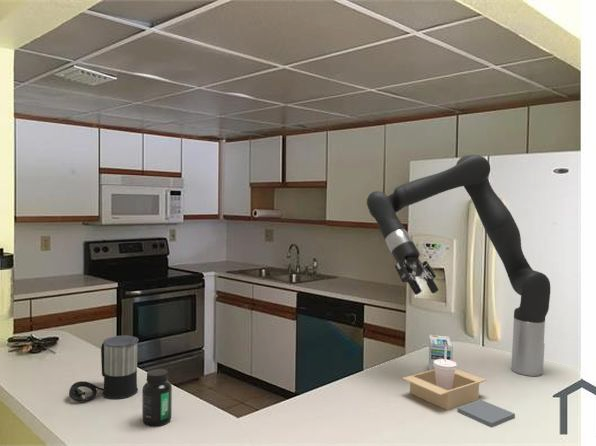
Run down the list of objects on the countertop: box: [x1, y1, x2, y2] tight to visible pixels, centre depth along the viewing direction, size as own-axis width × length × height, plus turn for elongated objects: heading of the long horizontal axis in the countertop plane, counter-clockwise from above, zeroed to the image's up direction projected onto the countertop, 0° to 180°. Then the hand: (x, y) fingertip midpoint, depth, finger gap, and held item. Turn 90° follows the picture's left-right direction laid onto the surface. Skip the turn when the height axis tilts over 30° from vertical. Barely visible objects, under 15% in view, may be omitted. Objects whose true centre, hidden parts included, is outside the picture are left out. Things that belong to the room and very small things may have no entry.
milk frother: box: [68, 335, 139, 403], centre depth 133 cm, size 14×16×15 cm
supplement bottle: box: [141, 368, 173, 428], centre depth 119 cm, size 7×7×12 cm
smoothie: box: [433, 347, 458, 390], centre depth 138 cm, size 6×6×14 cm
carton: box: [402, 368, 487, 411], centre depth 138 cm, size 20×13×5 cm
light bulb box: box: [428, 334, 454, 371], centre depth 156 cm, size 11×7×11 cm, turn 168°
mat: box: [456, 399, 516, 428], centre depth 127 cm, size 10×10×1 cm
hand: (427, 292), depth 144 cm, fingers open, 8 cm apart
